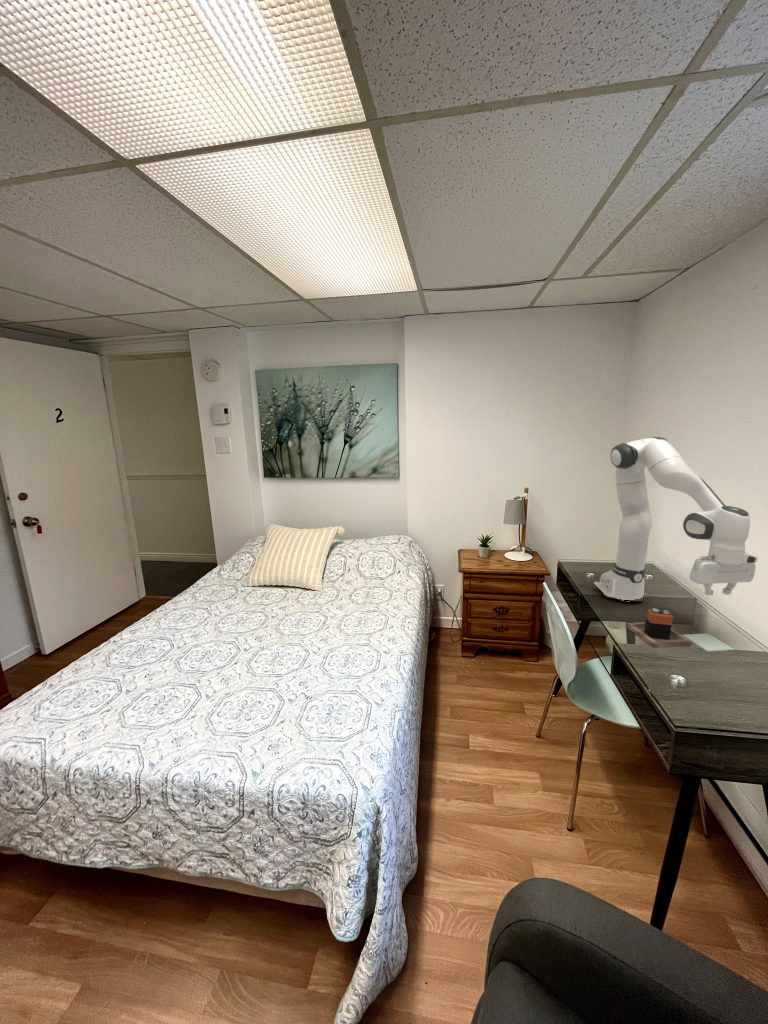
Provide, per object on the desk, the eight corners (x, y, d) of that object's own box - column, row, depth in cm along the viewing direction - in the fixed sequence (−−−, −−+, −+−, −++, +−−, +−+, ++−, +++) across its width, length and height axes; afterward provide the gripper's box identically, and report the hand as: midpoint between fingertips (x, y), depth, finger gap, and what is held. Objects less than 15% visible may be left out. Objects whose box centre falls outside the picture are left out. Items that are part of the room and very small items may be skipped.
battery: (643, 631, 145) (647, 606, 143) (664, 633, 143) (669, 608, 141) (648, 637, 141) (652, 611, 139) (669, 639, 139) (674, 614, 137)
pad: (682, 636, 142) (682, 634, 142) (707, 634, 143) (708, 633, 143) (706, 651, 132) (707, 650, 132) (734, 650, 133) (734, 649, 133)
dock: (625, 626, 148) (626, 623, 148) (660, 625, 149) (660, 621, 149) (653, 647, 135) (654, 643, 134) (691, 645, 136) (692, 641, 136)
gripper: (704, 559, 126) (697, 599, 129) (762, 557, 128) (753, 597, 131) (688, 553, 132) (681, 591, 135) (743, 551, 134) (735, 589, 137)
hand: (717, 594), depth 133 cm, fingers open, 5 cm apart
